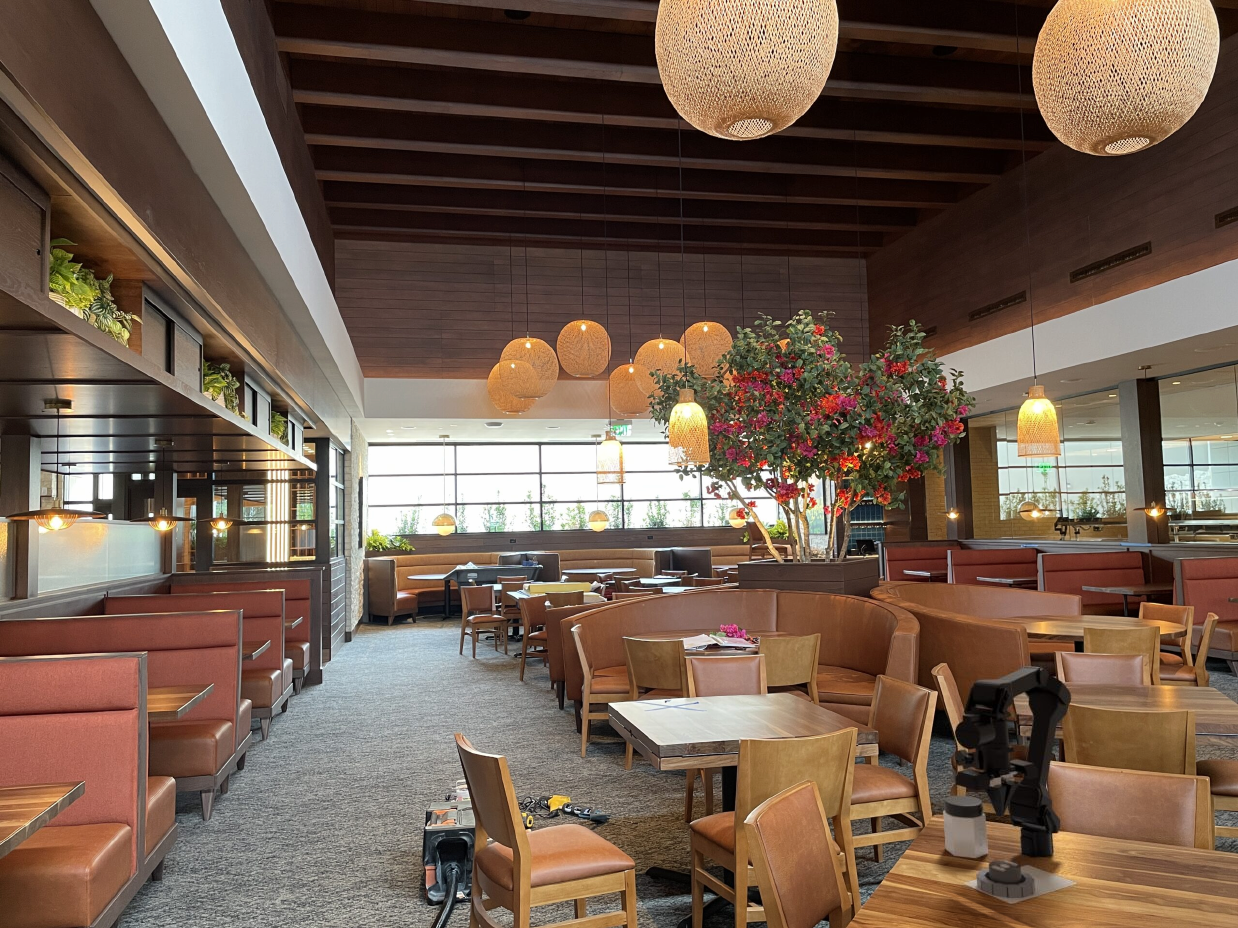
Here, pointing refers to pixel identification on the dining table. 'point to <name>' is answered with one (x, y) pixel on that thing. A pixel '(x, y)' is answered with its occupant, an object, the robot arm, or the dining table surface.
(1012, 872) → the cap
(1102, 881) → the dining table surface
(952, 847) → the jar
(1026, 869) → the plate
